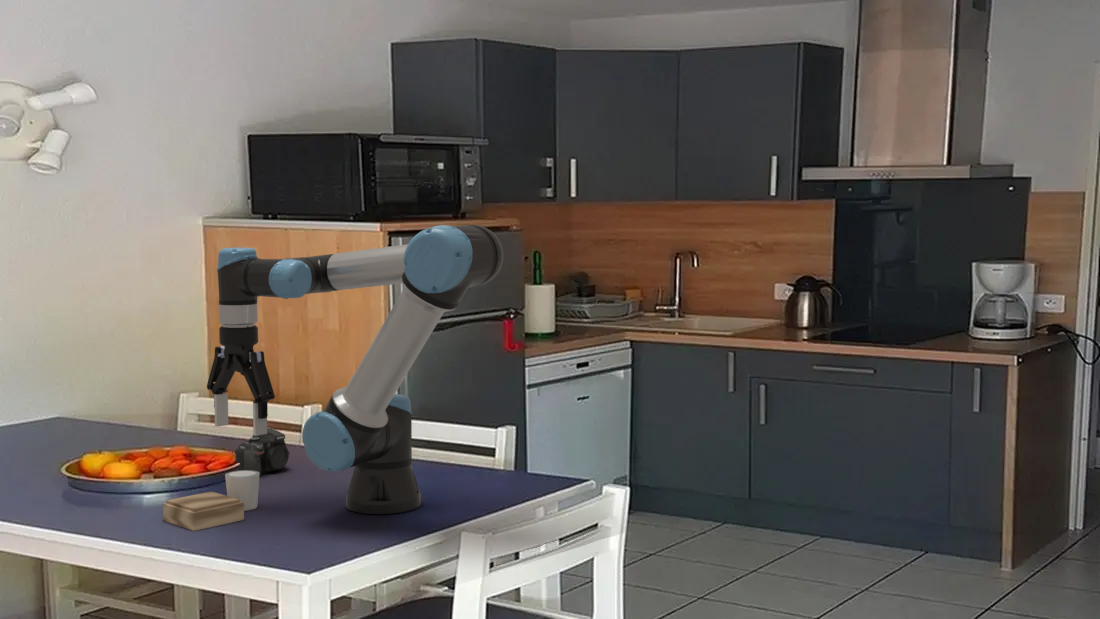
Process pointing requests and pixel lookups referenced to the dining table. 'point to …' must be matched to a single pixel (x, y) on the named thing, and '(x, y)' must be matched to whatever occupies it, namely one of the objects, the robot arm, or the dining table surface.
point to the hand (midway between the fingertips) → (240, 430)
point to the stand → (203, 510)
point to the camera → (263, 452)
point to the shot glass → (243, 487)
